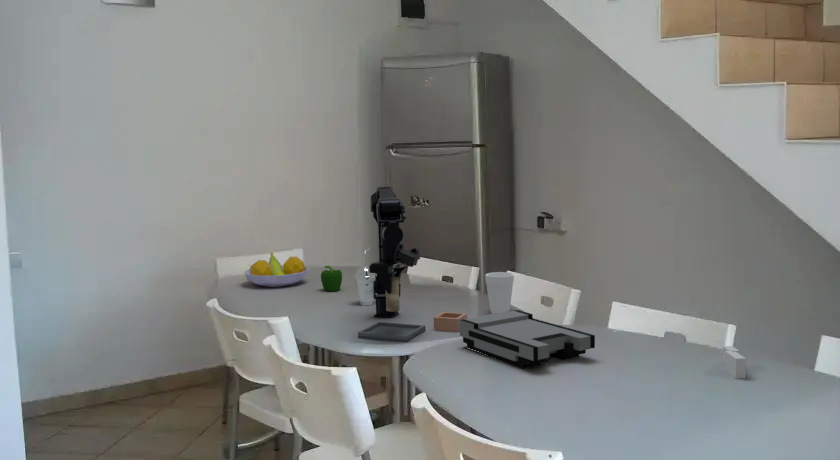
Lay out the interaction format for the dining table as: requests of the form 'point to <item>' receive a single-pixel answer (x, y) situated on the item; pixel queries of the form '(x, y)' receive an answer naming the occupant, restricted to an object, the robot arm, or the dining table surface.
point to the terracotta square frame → (448, 321)
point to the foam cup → (499, 291)
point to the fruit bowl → (277, 272)
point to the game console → (523, 338)
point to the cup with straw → (365, 283)
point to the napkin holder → (734, 362)
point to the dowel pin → (393, 296)
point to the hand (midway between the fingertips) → (392, 292)
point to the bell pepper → (331, 279)
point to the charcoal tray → (391, 331)
